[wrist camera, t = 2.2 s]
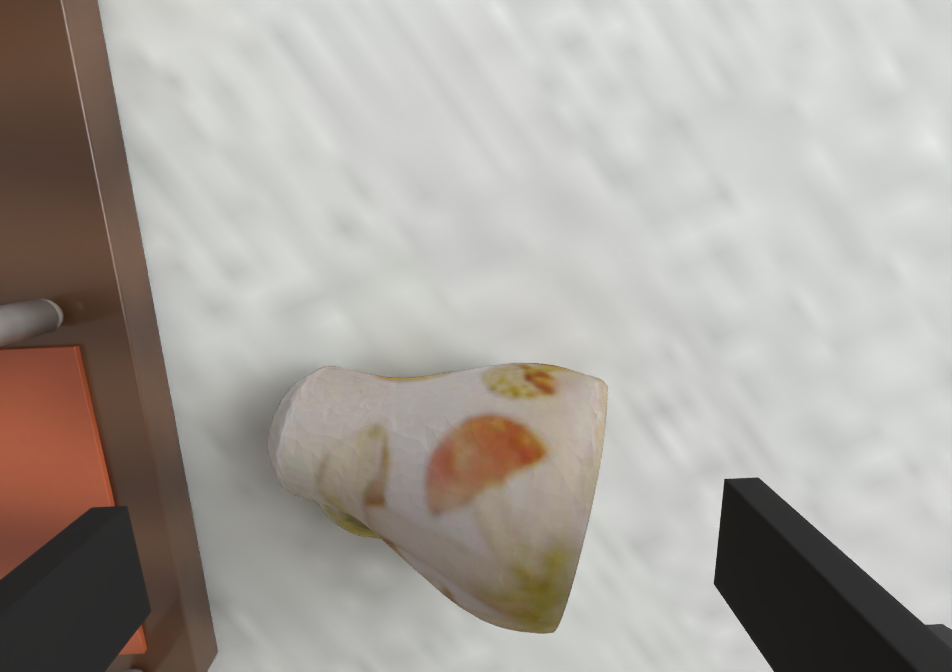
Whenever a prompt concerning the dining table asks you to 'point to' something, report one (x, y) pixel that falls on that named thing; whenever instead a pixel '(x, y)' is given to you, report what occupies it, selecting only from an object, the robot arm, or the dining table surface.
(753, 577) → the robot arm
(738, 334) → the dining table surface
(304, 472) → the mug
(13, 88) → the rack
